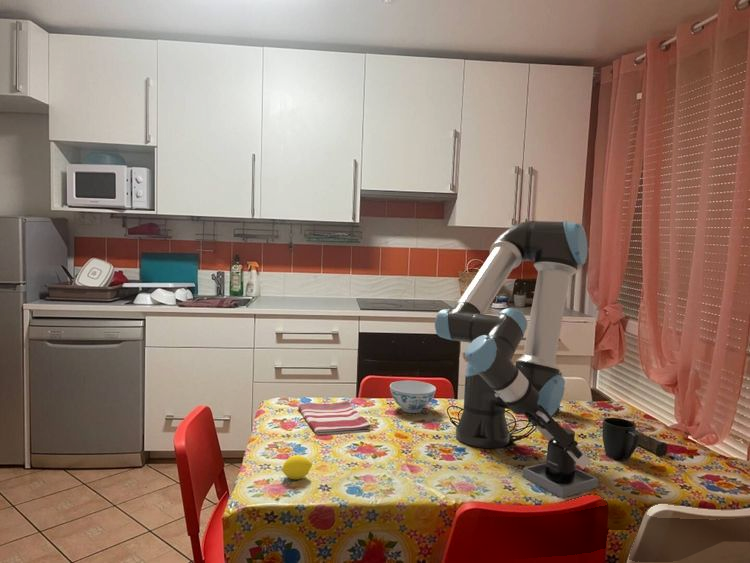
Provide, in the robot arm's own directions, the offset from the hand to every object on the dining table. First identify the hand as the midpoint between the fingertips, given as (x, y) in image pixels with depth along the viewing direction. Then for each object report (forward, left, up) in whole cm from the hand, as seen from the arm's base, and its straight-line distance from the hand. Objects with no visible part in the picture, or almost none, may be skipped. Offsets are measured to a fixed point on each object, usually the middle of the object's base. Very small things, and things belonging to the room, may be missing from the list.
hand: (570, 452), depth 137 cm
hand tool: (-9, +39, -8) cm, 41 cm away
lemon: (-29, -58, -7) cm, 65 cm away
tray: (-1, -2, -7) cm, 8 cm away
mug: (-4, +25, -7) cm, 26 cm away
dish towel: (-62, -32, -8) cm, 70 cm away
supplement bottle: (-1, -2, -7) cm, 7 cm away
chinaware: (-61, -4, -7) cm, 61 cm away
